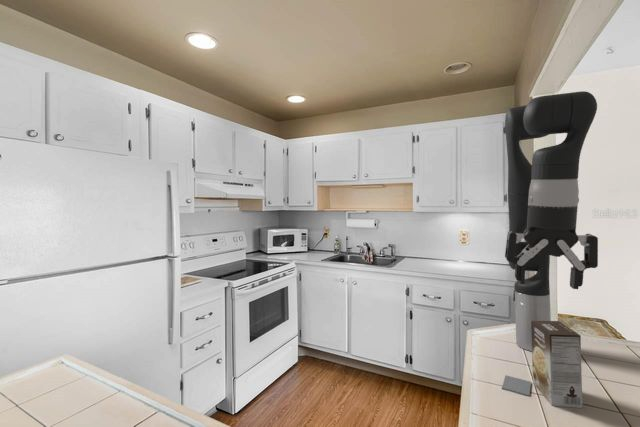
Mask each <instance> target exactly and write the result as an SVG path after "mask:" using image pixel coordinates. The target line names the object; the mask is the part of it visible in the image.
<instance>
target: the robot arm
mask: <svg viewBox="0 0 640 427" xmlns="http://www.w3.org/2000/svg"><path fill="white" fill-rule="evenodd" d="M597 110H598V102H597V100H596V97H595V96H594V95H593V94H592V93H591V92H589V91H585V90H583V91H574V92H565V93H557V94H549V95H548V94H546V95H541V96H536V97H534V98H532V99H531V100H530V101H529V102H527V104H526V105H520V106H515V107H511V108H509V109H508V110H507V111H506V112H505V116H504V117H505V118H504V126H505V128H504V130H505V141H506V142H505V143H506V152H507V165H508V166H507V204H508V207H507V208H508V221H509V222H508V224H509V226H508V228H509V230H508V232H507V234H506V235H507V236H506V242H505V243H506V245H505V253H504V257H505V260H506V261H507V262H508V264H509V267H510V268H511V269H512V270H514V277H515V280H516V281H515V282H514V284H513V286H514V287H513V288H514V306H515V308H514V309H515V310H514V312H515V314H514V315H515V341H516V342H515V344H516V345H517V346H518V347H519V348H521V349H524V350H527V351H530V352H532V332H531V321H552V320H551V319H552V317H551V314H552V313H551V312H552V311H551V293H550V292H551V290H550V263H551V262H550V259H551V256H552V257H557V258H558V257H559V258H561V257H562V256H564V257H565V258H566V259H567V260H568V262H569V263H570V264H571V267H570V274H569V276H570V277H569V286H570V288H572V289H573V290H579V288H580V287H582V285H583V284H584V274H585V273H584V272H585V270H587V269H596V268H597V267H598V266H599V265H598V264H599V238H598V237H597V236H595V235H593V234H591V233H586V234H581V235H580V234H577V231H576V230H577V221H578V220H577V218H578V206H579V205H578V204H579V201H580V198H579V194H580V193H579V192H580V190H579V189H580V188H579V169H580V158H581V153H582V150H583V146H584V143H585V139H586V137H587V135H588V133H589V130H590V129H591V128H590V127H591V126H592V124H593V122H594V119H595V116H596V114H597ZM557 134H566V136H565V139H564V140H563V141H562V142H560V143H559V144H555V145H551V146H547V147H542V148H539V149H536V150H535V151H534V152H533V154H532V158H531V163H530V162H529V160H528V159H527V157H526V155H525V154H524V152H523V151H522V149H521V145H520V141H525V140H533V139H539V138H545V137H546V136H549V135H557ZM523 239H524V241H522V240H523ZM578 242H580V245H581V246H583V259H582V260H580V258H579V257H578V255H576V254H575V253H574V251H573V250H572V248H573V247H574V246H576V244H578ZM526 272H536V273H535V274H533V275H532V276H530V277H528V278H525V277H526Z"/></svg>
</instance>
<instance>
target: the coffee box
mask: <svg viewBox="0 0 640 427" xmlns="http://www.w3.org/2000/svg"><path fill="white" fill-rule="evenodd" d="M531 332H532V351H531V355H532V356H531V357H532V358H531V360H532V382H533V383H532V385H534V387H535V388H537V390H538V392H540V393H541V395H542V396H543V397H544V398H545V399H546V401H547V402H549V404H550V405H551V406H553V407H554V406H555V407H565V408H578V409H582V408H583V387H582V386H583V382H582V381H583V380H582V379H583V378H582V377H583V376H582V346H581V345H582V343H581V340H582V338H581V335H580V334H579V333H577V332H576V331H574V330H573V329H572V328H570V327H568V326H567V325H565V324H564V323H562V322H561V321H559V320H551V321H531Z"/></svg>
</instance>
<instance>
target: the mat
mask: <svg viewBox="0 0 640 427" xmlns="http://www.w3.org/2000/svg"><path fill="white" fill-rule="evenodd" d="M504 376H505V377H504V378H503V382H502V387H501V390H505V391H508V392H512V393H515V394H519V395H523V396H527V397H530V395H531V387H532V381H531V380H525V379H522V378H520V377H519V378H518V377H514V376H509V375H507V374H505V375H504Z"/></svg>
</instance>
